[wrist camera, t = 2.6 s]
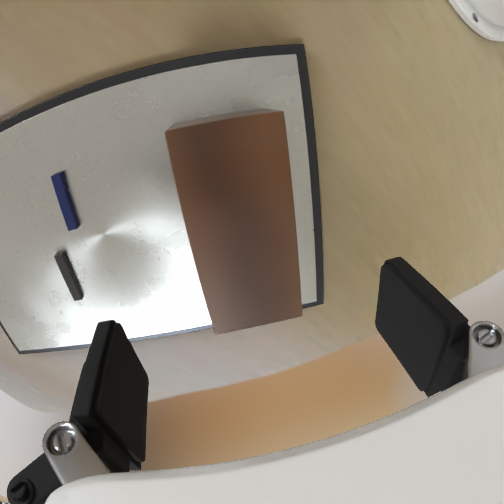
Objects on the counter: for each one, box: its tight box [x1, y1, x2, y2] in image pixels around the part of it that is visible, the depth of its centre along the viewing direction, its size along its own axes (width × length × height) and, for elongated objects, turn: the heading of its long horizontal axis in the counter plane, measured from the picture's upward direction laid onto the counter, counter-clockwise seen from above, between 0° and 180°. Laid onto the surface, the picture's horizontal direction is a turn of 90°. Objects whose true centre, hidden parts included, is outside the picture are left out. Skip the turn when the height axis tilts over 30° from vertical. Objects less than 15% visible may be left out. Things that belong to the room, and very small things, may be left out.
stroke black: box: [54, 252, 84, 301], centre depth 20 cm, size 1×4×1 cm, turn 8°
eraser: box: [165, 108, 302, 334], centre depth 18 cm, size 6×12×5 cm, turn 8°
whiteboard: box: [0, 44, 324, 354], centre depth 20 cm, size 30×20×1 cm, turn 98°
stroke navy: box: [51, 172, 80, 231], centre depth 18 cm, size 1×4×1 cm, turn 8°
